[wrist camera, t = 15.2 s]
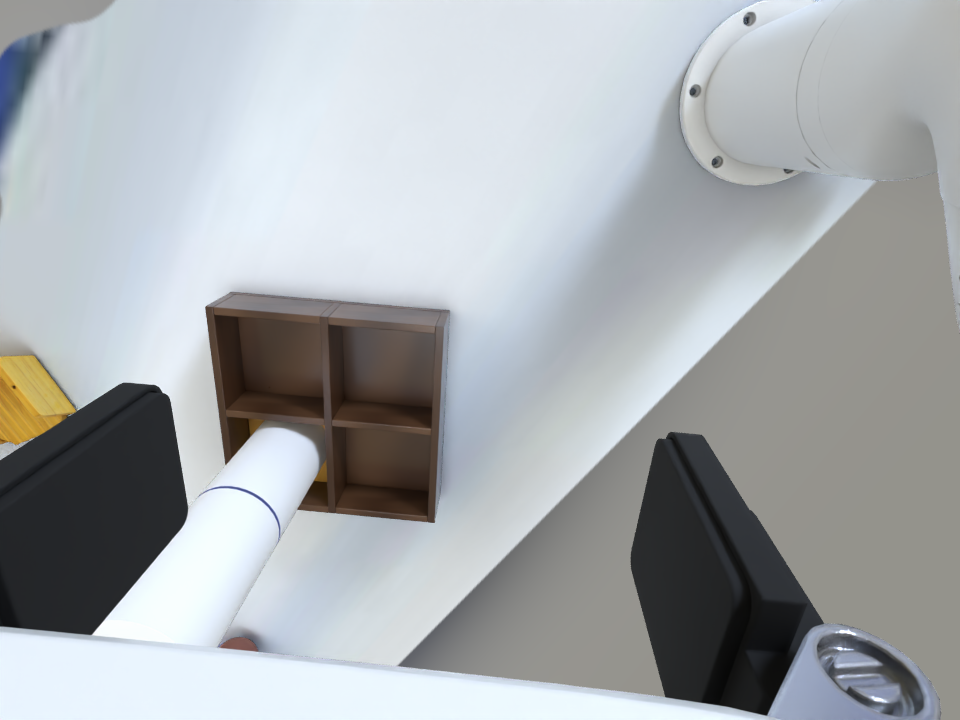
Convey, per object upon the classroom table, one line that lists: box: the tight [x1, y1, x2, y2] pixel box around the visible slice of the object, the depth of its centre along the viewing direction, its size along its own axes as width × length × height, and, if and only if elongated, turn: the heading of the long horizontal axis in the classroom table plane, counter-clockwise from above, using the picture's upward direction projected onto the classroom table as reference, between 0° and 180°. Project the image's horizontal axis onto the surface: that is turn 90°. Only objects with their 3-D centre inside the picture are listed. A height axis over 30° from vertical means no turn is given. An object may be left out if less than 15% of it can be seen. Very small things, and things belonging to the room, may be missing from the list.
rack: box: [205, 292, 450, 523], centre depth 51 cm, size 20×20×5 cm
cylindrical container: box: [92, 420, 326, 648], centre depth 43 cm, size 7×7×25 cm
